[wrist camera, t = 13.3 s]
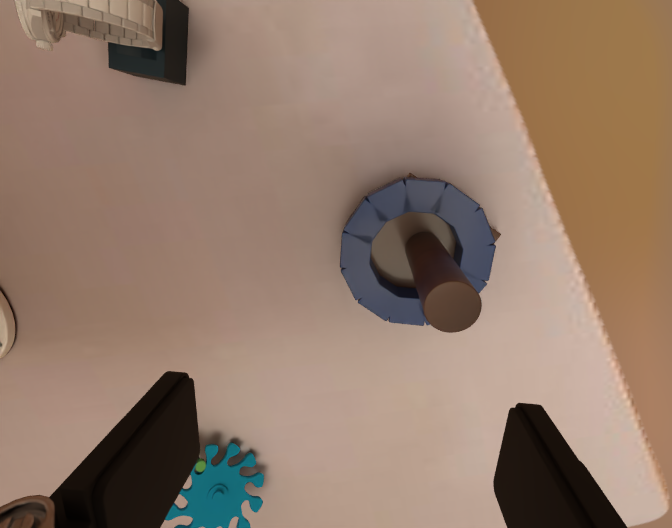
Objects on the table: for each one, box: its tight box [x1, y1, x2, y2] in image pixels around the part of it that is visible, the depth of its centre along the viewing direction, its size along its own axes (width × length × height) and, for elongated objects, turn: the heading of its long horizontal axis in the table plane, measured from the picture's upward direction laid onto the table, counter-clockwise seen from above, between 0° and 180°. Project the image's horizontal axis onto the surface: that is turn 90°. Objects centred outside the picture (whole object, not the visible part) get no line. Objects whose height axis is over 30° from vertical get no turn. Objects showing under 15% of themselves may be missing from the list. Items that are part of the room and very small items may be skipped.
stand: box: [371, 173, 501, 332], centre depth 25 cm, size 9×9×13 cm
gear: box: [165, 442, 264, 528], centre depth 39 cm, size 11×6×10 cm
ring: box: [340, 177, 496, 326], centre depth 29 cm, size 12×12×2 cm
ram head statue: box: [14, 0, 189, 85], centre depth 24 cm, size 6×8×11 cm
